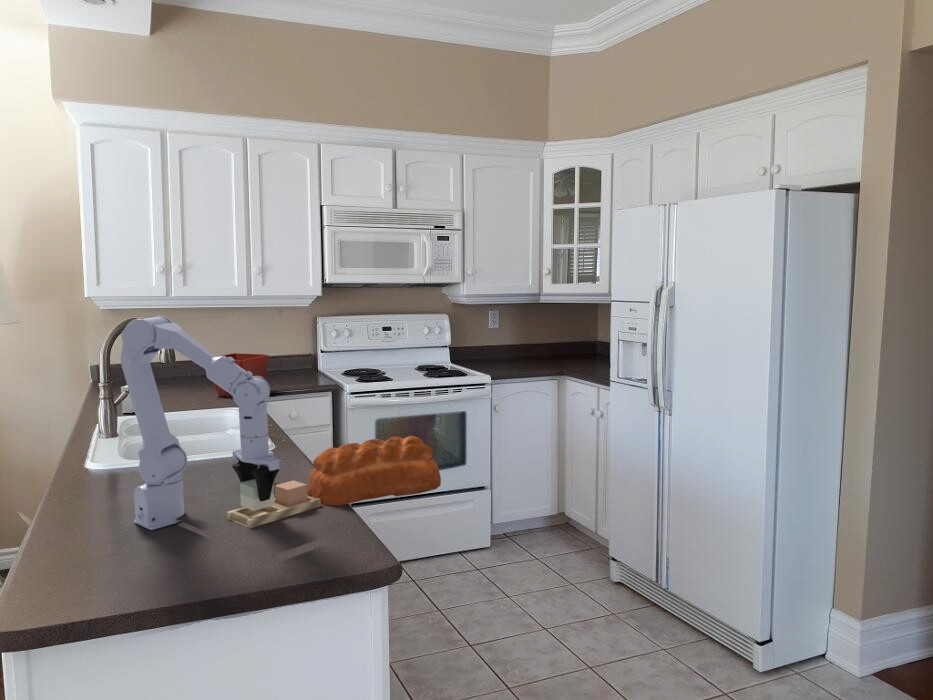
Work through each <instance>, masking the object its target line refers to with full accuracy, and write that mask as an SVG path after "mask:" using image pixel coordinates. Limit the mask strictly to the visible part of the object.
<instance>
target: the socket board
mask: <svg viewBox="0 0 933 700" xmlns="http://www.w3.org/2000/svg"><path fill="white" fill-rule="evenodd" d="M307 500H308V501H307V502H303V503H300V504H297V505H293V506H290V507H286V506H283V505H280V504H277V503H275V497H274V505H273V506H270V507H266V508H263V509H259V510H256V511H252V510H250V509H248V508H246V507H243V506H241V507H240V508H239V507H238V508H237V509H232V510H229V511H227V512H226V515H227V516H226V517H227V518H226V519H227V520H229V521H232V522H234V523H236V524H238V525H241V526H243V527H246V528H249V529H253V528H255V527H259V526H262V525H266V524H268V523H271V522H274V521H279V520H282V519H284V518H287V517H291V516H293V515H296V514H300V513H304V512H307V511H310V510H312V509H315V508H319V507H321V506H322V504H321V499H319V498H313V497H312V496H311V495H310V496H309V495H307Z"/></svg>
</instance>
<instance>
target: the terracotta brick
mask: <svg viewBox="0 0 933 700" xmlns="http://www.w3.org/2000/svg"><path fill="white" fill-rule="evenodd" d="M307 489H308V483H307V484H305V483H303V482H300V481H296V480H293V479H292V480H291V481H286V482H282V483H280V484H276V485H275V484H274V498H275V503H277V504H280V505H283V506H286V507H290V506H293V505H297V504H300V503H303V502H307V501H308V500H307V496H308V494H307Z"/></svg>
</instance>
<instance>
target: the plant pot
mask: <svg viewBox="0 0 933 700" xmlns="http://www.w3.org/2000/svg"><path fill="white" fill-rule="evenodd" d="M215 356H216V355H215ZM219 356H225V357H227V358H228V357H232V358H233V359H234V360H235V361H234V363H235V364H237V365H238V366H240V367H241V368H242V369H244V370H245V371H247V372H248V371H250V372H251V373H253V375H252V376H261V377H263V378H264V379H265V378H266V374H267V370H268V363H269V358H270V357H269V354H263V353H262V354H261V353H244V352H243V353H240V352H238V353H237V352H232V353H228V354H221V355H217V356H216V357H219ZM265 380H266V379H265ZM211 382H212V384H213V386H214V388H215V391H216V393H217V395H218V396H219V397H223V396H226V397H225V398H233V395H231V394H230V393H228V392H227V391H225V390H224V389H223V388H221V387H220V386H218V385H217V384H216V383H214V382H213V381H211Z"/></svg>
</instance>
